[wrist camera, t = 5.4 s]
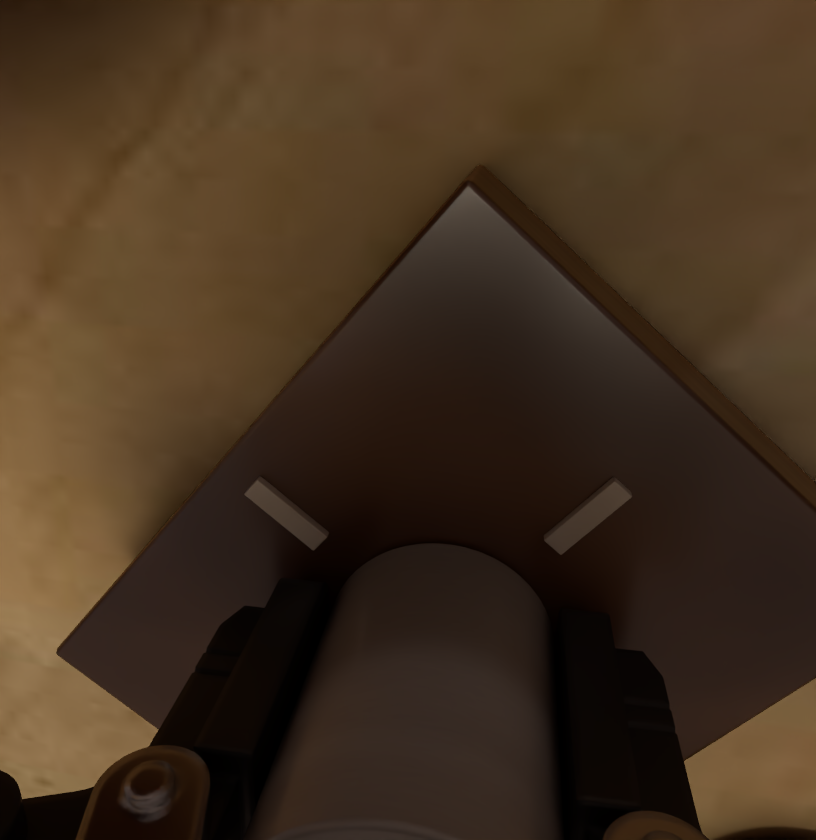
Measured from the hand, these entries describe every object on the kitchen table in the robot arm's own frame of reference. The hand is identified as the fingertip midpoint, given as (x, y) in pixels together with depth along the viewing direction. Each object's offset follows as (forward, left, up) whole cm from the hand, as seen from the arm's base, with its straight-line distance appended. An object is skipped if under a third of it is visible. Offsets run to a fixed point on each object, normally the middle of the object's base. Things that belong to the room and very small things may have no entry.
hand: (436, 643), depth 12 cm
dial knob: (0, 0, 0) cm, 0 cm away
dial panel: (0, 0, -3) cm, 3 cm away
